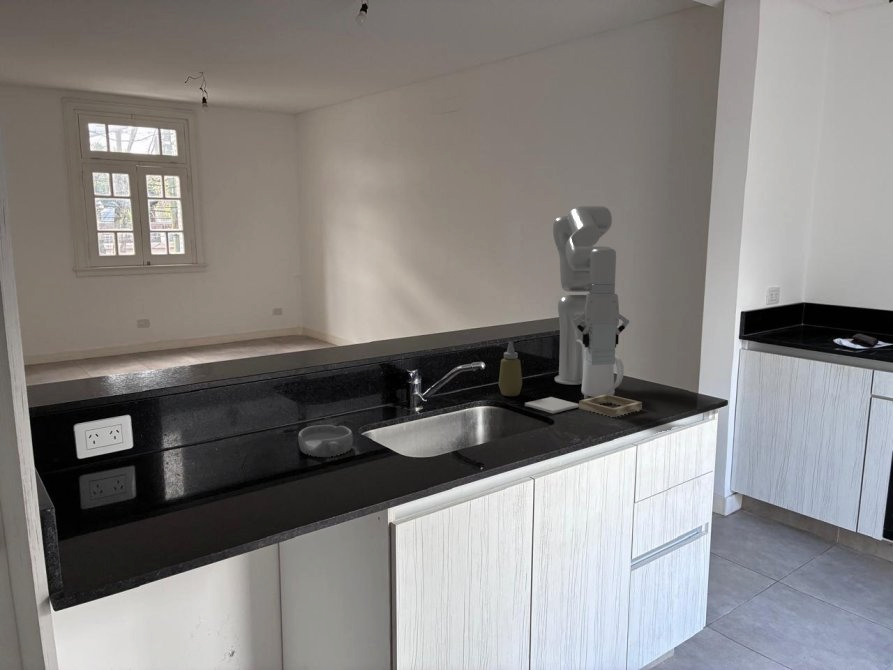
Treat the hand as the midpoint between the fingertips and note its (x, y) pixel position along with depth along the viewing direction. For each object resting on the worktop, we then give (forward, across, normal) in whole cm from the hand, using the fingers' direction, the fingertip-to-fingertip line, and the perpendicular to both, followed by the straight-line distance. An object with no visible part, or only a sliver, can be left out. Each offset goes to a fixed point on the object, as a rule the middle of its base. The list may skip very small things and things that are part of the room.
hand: (600, 346), depth 203 cm
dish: (+20, -74, -45) cm, 88 cm away
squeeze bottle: (+20, -27, +15) cm, 37 cm away
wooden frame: (+20, +4, -1) cm, 20 cm away
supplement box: (+5, 0, 0) cm, 5 cm away
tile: (+20, -14, +2) cm, 24 cm away
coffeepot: (+20, +2, +18) cm, 27 cm away
